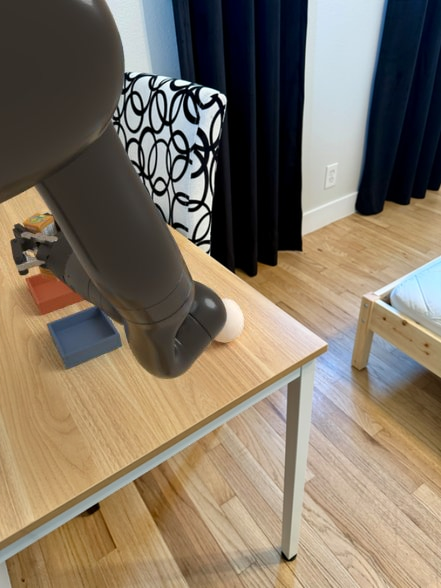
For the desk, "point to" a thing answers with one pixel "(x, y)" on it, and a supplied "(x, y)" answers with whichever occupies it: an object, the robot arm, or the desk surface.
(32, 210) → the desk surface
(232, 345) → the desk surface
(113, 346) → the blue tray
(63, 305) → the terracotta tray
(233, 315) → the egg
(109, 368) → the desk surface
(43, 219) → the supplement box
